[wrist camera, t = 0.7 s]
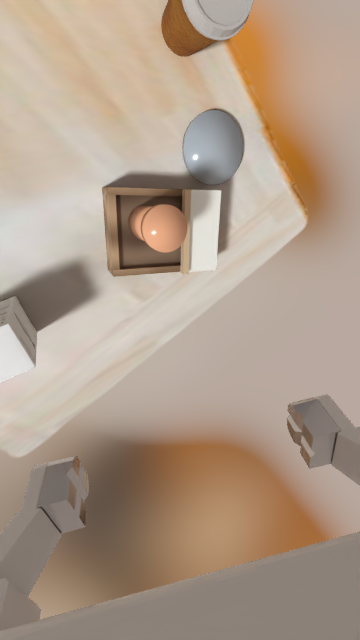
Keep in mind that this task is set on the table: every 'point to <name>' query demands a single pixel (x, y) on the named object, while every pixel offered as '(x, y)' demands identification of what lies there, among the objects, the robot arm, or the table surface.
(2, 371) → the supplement box
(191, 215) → the lid panel
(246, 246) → the table surface
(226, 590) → the robot arm
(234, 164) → the saucer
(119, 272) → the wooden box
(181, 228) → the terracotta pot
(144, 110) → the table surface
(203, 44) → the disposable coffee cup
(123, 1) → the table surface
